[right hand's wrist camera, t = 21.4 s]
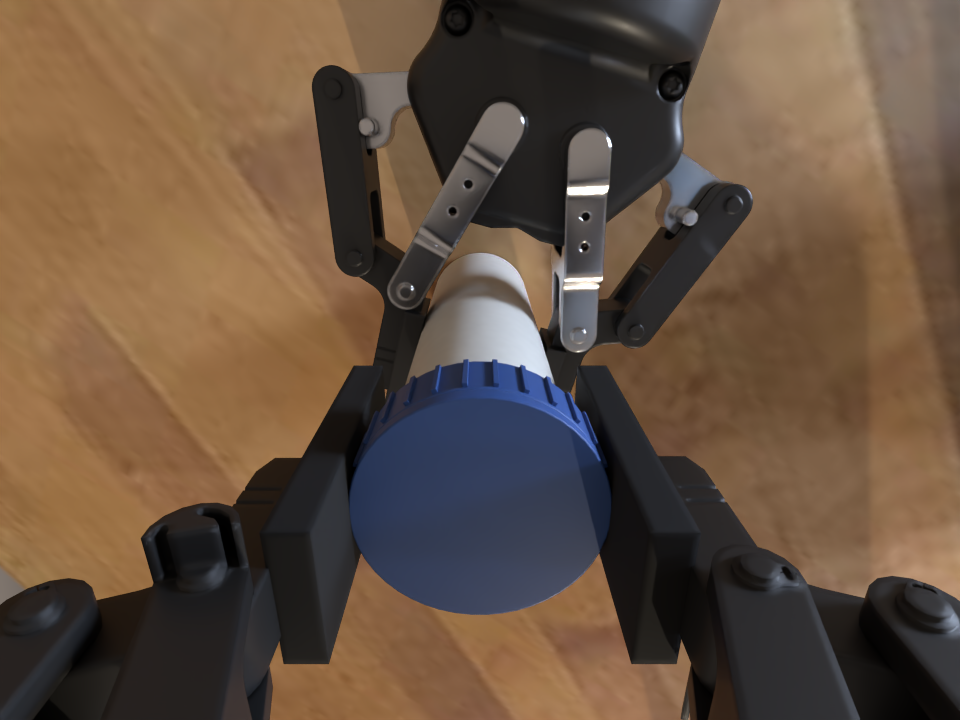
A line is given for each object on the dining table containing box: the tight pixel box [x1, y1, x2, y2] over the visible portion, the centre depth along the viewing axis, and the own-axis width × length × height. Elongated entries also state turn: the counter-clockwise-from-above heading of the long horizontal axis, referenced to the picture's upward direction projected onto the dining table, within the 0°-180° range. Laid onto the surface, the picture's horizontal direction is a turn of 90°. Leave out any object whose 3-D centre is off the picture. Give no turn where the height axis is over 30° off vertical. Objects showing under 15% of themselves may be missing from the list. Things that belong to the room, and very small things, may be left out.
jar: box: [405, 253, 555, 385], centre depth 18 cm, size 4×4×15 cm
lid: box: [349, 359, 612, 615], centre depth 11 cm, size 5×5×2 cm
